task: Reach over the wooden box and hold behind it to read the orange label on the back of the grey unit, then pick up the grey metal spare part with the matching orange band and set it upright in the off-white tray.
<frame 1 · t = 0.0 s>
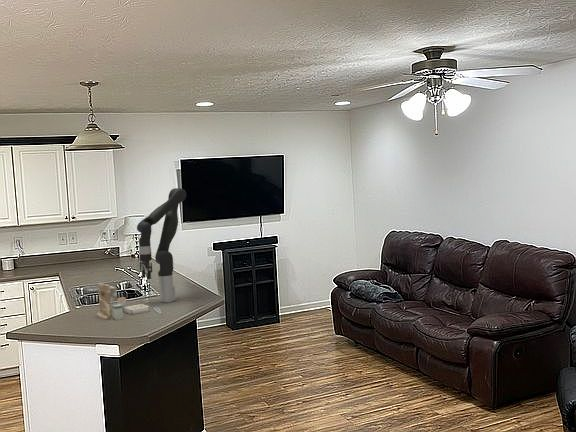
hand: (146, 278, 390), 17 cm above the worktop, fingers open, 8 cm apart
spare part: (122, 310, 377), on the worktop
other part: (118, 318, 355), on the worktop
tray: (136, 311, 371), on the worktop
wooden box: (106, 316, 363), on the worktop
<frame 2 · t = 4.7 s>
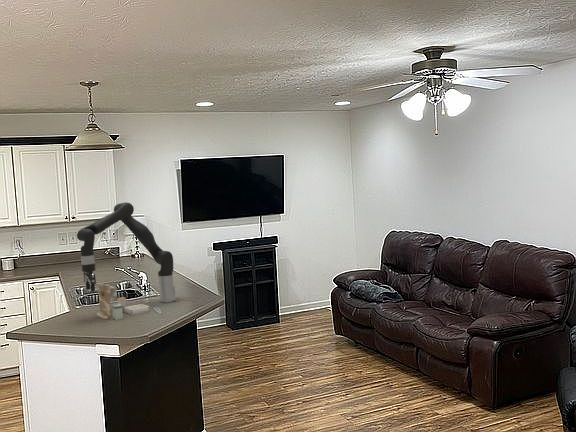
hand: (90, 290, 357), 17 cm above the worktop, fingers open, 8 cm apart
nothing on the worktop moved.
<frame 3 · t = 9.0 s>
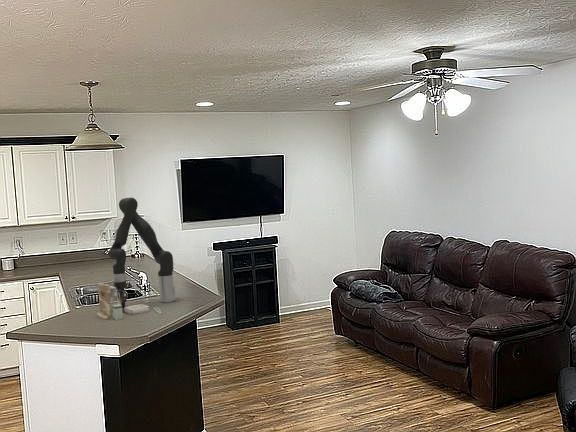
hand: (122, 307, 377), 2 cm above the worktop, fingers closed on spare part, 4 cm apart
spare part: (122, 310, 377), on the worktop, touching gripper
everything else where it was.
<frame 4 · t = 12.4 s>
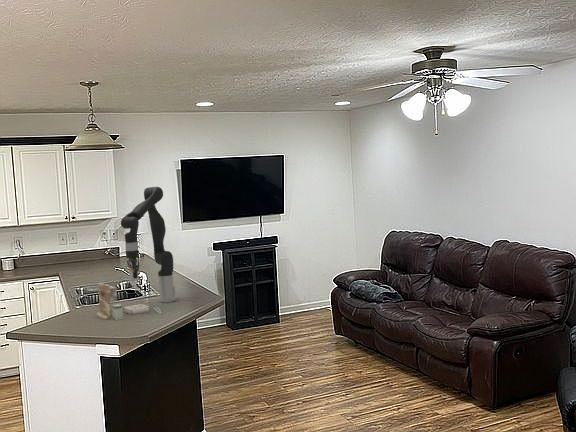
hand: (134, 277, 369), 21 cm above the worktop, fingers closed on spare part, 4 cm apart
spare part: (134, 280, 369), point 19 cm above the worktop, touching gripper
everything else where it was.
when the fingers open (4 cm above the worktop, at t = 15.8 s): spare part drops 1 cm, resting on tray.
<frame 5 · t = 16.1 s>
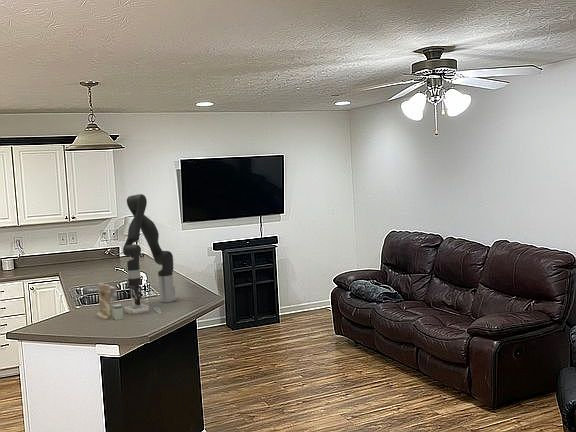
hand: (136, 304, 370), 5 cm above the worktop, fingers open, 6 cm apart
spare part: (136, 310, 371), point 1 cm above the worktop, touching tray
everything else where it was.
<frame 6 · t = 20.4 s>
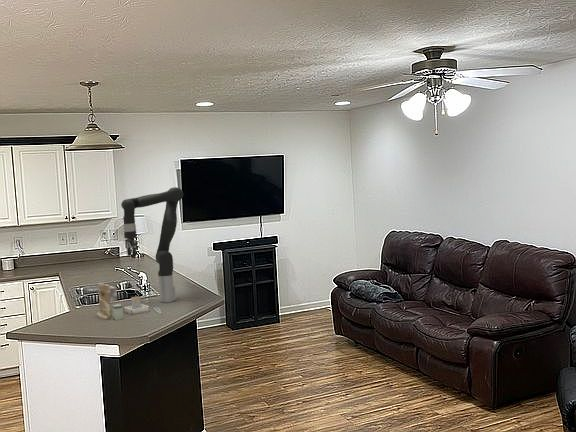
hand: (132, 255, 388), 32 cm above the worktop, fingers open, 8 cm apart
nothing on the worktop moved.
at the end: spare part inside the target area on the tray (0.1 cm from its centre), point 1.0 cm above the tray's base; spare part tilted 0°; the gripper is holding nothing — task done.
